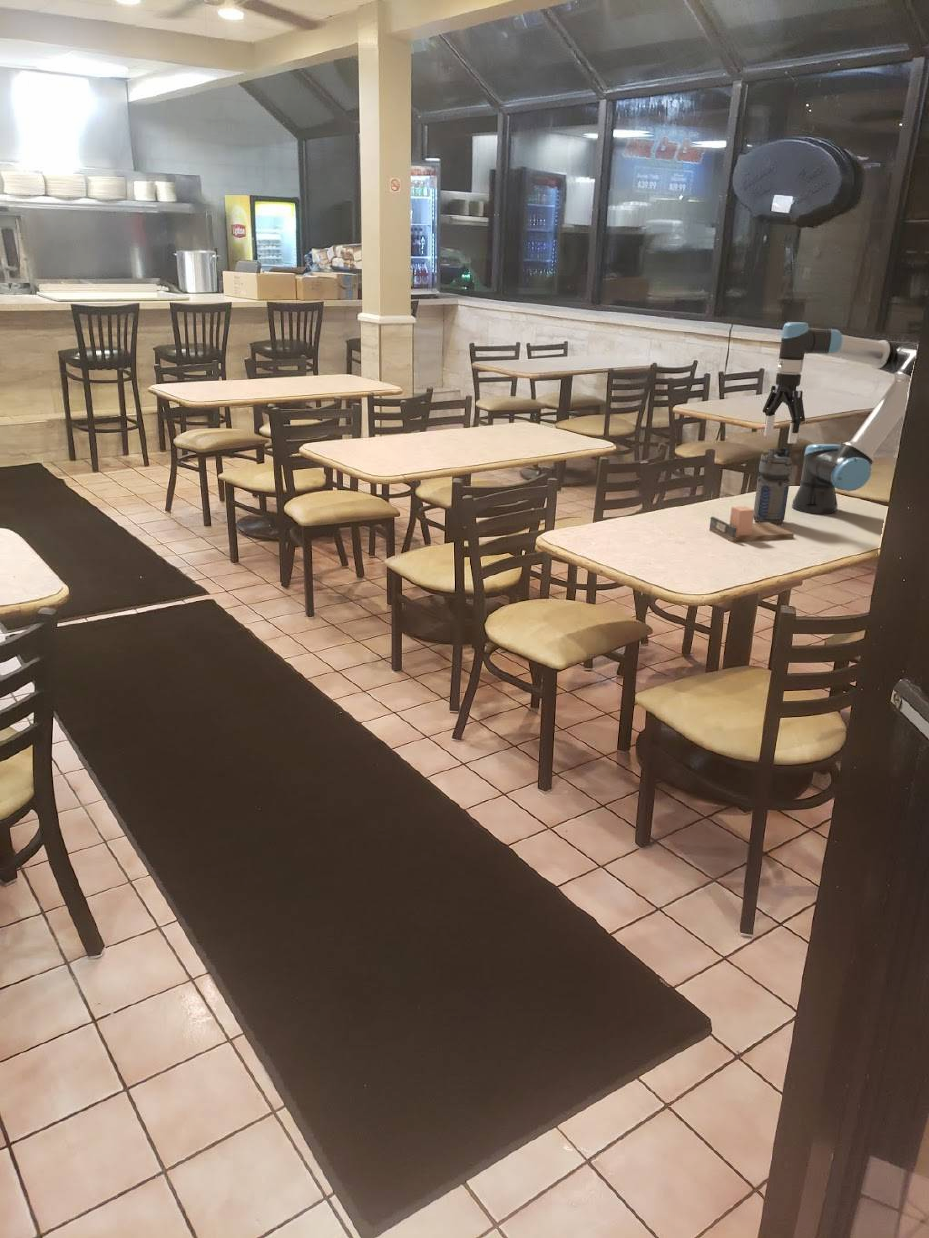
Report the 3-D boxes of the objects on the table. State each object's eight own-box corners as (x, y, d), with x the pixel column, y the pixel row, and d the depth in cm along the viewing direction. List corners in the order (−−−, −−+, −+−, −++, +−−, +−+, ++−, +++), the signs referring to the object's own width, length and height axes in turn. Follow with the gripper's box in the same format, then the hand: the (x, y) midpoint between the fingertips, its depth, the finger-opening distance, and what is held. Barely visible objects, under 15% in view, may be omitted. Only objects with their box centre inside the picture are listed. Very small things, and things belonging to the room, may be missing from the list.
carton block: (742, 530, 304) (745, 506, 301) (751, 534, 300) (754, 510, 297) (728, 531, 303) (731, 507, 300) (737, 535, 298) (740, 510, 296)
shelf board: (768, 526, 315) (770, 513, 314) (793, 538, 303) (795, 524, 301) (708, 530, 309) (710, 516, 308) (731, 542, 297) (732, 528, 295)
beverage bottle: (791, 520, 323) (802, 447, 314) (774, 527, 314) (784, 452, 305) (764, 515, 329) (773, 443, 321) (746, 522, 320) (755, 448, 311)
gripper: (757, 368, 314) (749, 433, 322) (802, 377, 292) (792, 446, 300) (777, 368, 316) (768, 432, 324) (823, 377, 294) (812, 446, 302)
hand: (779, 439), depth 312 cm, fingers open, 13 cm apart
